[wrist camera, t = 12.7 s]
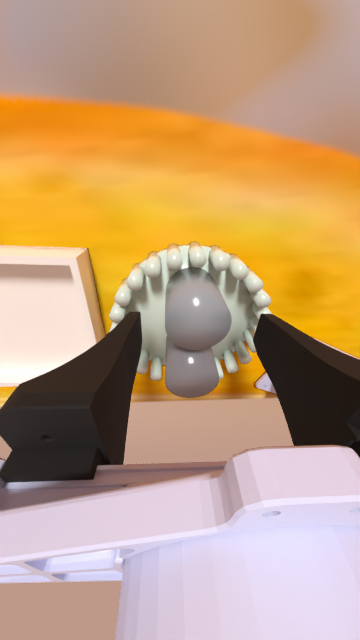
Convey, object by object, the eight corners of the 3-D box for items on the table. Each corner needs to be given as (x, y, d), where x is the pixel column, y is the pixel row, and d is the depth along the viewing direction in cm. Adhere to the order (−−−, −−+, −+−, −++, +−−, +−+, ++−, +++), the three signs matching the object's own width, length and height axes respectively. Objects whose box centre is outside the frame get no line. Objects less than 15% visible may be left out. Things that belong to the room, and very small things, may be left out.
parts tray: (87, 248, 14) (75, 257, 12) (111, 367, 21) (106, 385, 19) (-91, 242, 14) (-131, 251, 12) (-7, 368, 20) (-24, 386, 18)
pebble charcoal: (217, 332, 18) (229, 370, 15) (196, 361, 20) (202, 402, 17) (177, 317, 17) (179, 354, 13) (159, 349, 19) (156, 390, 15)
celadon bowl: (279, 244, 15) (298, 254, 13) (242, 364, 22) (250, 384, 20) (105, 238, 14) (93, 248, 12) (124, 365, 21) (119, 386, 19)
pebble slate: (226, 280, 16) (245, 311, 12) (200, 320, 17) (209, 357, 14) (179, 257, 14) (184, 283, 11) (157, 302, 16) (154, 338, 13)
